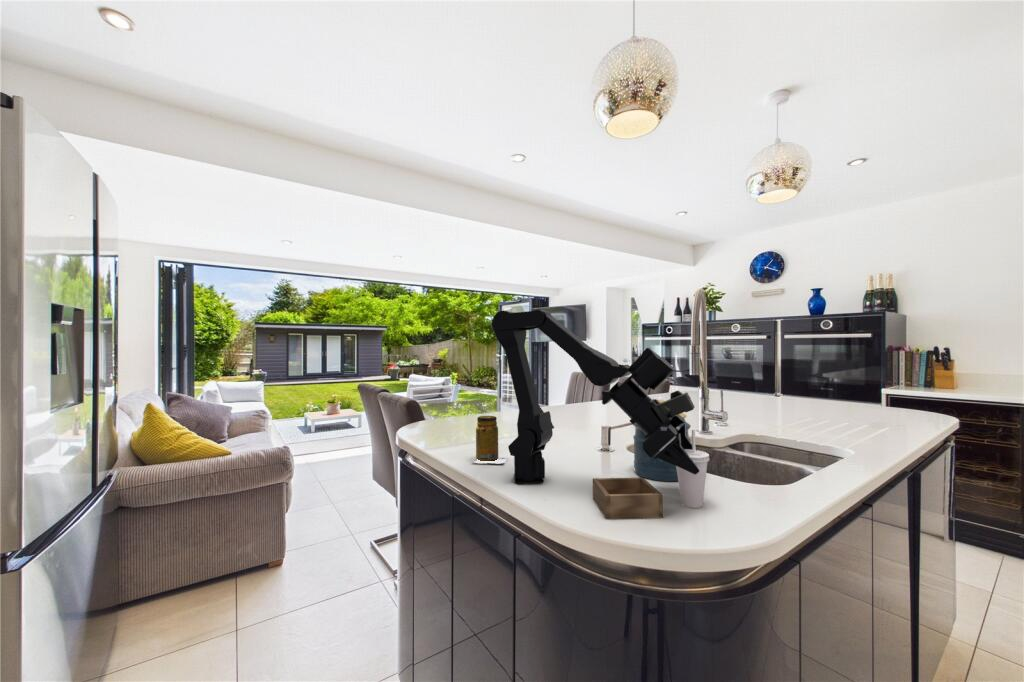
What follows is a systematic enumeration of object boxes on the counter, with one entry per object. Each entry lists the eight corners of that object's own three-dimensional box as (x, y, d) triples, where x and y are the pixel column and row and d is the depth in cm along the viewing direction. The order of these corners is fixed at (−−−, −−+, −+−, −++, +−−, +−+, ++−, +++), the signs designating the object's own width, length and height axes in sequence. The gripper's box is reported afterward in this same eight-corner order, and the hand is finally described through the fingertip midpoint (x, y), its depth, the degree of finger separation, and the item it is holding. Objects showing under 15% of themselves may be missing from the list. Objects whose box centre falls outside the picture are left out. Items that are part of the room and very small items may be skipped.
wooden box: (606, 519, 72) (605, 496, 72) (593, 498, 82) (592, 478, 82) (663, 517, 72) (663, 494, 72) (643, 497, 82) (642, 477, 82)
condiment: (478, 457, 115) (478, 414, 116) (508, 458, 114) (507, 415, 114) (471, 464, 108) (471, 418, 109) (502, 465, 107) (502, 419, 107)
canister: (694, 484, 90) (693, 403, 90) (633, 479, 94) (631, 402, 94) (688, 468, 102) (687, 397, 103) (634, 464, 106) (633, 396, 107)
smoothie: (714, 511, 75) (712, 433, 75) (677, 509, 76) (675, 432, 76) (705, 499, 81) (703, 427, 81) (671, 497, 82) (669, 426, 83)
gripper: (660, 381, 73) (733, 450, 67) (672, 375, 89) (731, 430, 84) (616, 423, 76) (682, 492, 71) (636, 410, 93) (690, 465, 87)
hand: (699, 467), depth 78 cm, fingers open, 8 cm apart
